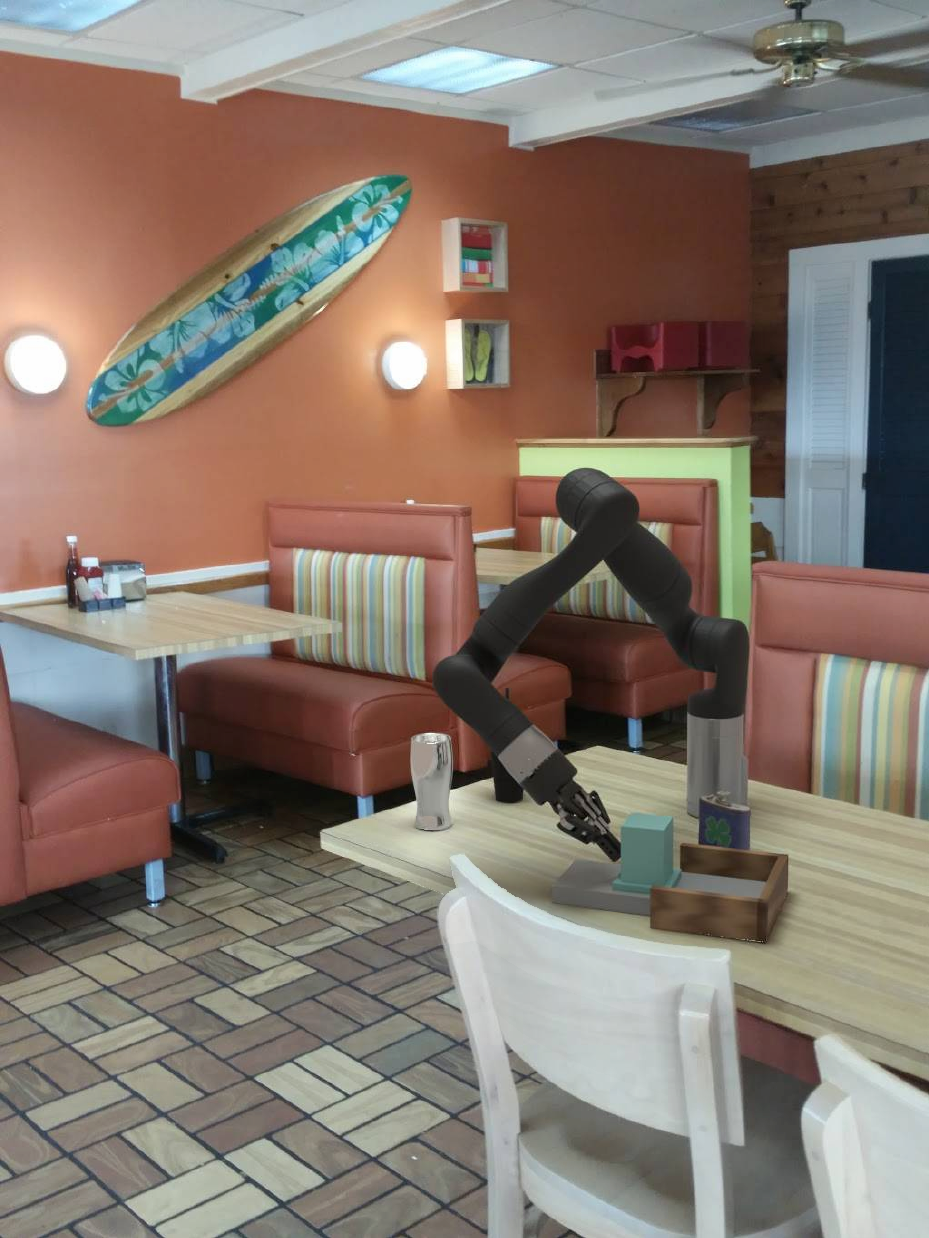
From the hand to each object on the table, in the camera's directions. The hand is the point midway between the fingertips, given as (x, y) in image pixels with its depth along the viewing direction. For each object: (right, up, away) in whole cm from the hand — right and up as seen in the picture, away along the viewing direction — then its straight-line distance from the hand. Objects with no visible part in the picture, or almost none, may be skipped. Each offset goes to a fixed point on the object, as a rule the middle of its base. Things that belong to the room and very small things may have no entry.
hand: (620, 856), depth 180 cm
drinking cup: (-14, +1, +46) cm, 49 cm away
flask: (+17, -3, +15) cm, 24 cm away
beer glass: (-27, -1, +34) cm, 43 cm away
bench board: (+6, -6, 0) cm, 8 cm away
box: (+13, -7, -3) cm, 15 cm away
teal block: (+4, -4, 0) cm, 5 cm away
